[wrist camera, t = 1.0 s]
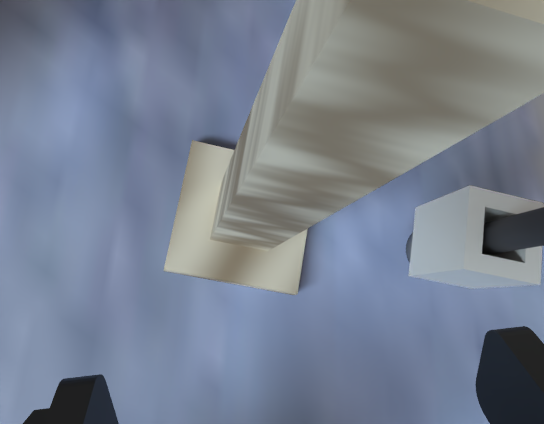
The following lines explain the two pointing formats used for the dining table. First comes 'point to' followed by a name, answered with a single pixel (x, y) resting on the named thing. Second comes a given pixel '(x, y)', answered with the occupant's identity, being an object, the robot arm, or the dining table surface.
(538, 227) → the dark grey piece
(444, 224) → the sleeve
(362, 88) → the stand
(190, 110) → the dining table surface
